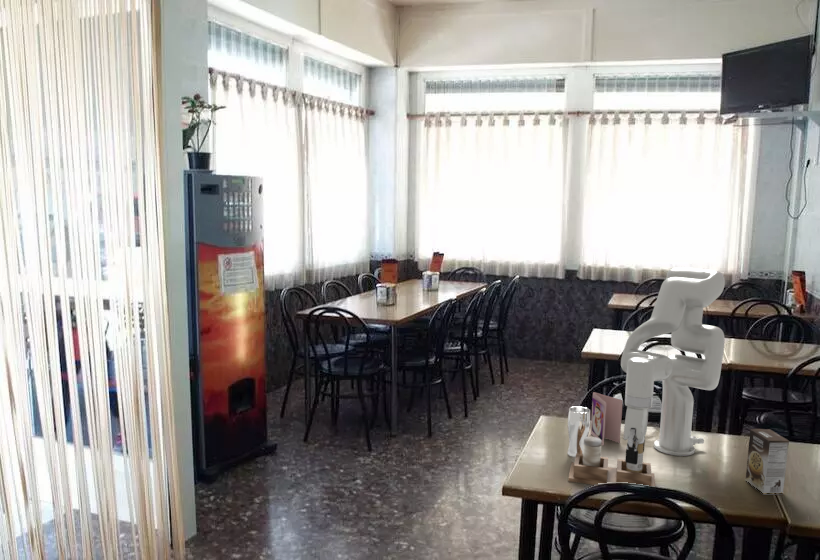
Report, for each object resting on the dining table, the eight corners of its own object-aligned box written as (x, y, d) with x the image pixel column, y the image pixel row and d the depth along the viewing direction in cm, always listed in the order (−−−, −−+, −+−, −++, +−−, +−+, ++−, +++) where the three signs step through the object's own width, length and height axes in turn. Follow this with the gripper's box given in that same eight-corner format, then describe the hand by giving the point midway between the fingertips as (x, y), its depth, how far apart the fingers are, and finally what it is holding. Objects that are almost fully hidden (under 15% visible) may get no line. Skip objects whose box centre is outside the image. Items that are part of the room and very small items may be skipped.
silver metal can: (586, 450, 218) (589, 406, 216) (590, 459, 211) (592, 413, 209) (564, 449, 219) (567, 405, 217) (567, 458, 212) (570, 412, 210)
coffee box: (744, 480, 198) (749, 428, 196) (764, 480, 199) (770, 428, 196) (762, 495, 189) (768, 440, 187) (784, 494, 190) (790, 439, 187)
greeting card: (588, 433, 234) (590, 391, 232) (608, 433, 234) (611, 391, 232) (600, 446, 222) (603, 402, 220) (622, 445, 223) (625, 402, 221)
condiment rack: (654, 476, 200) (656, 440, 198) (655, 494, 188) (658, 456, 187) (571, 465, 207) (573, 430, 205) (568, 481, 195) (570, 444, 194)
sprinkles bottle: (634, 474, 198) (637, 430, 197) (645, 480, 194) (648, 436, 192) (622, 476, 197) (624, 432, 195) (632, 482, 193) (634, 438, 191)
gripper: (631, 390, 202) (627, 444, 204) (618, 406, 187) (614, 464, 189) (657, 394, 198) (653, 450, 200) (646, 411, 183) (642, 470, 185)
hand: (634, 457), depth 195 cm, fingers open, 9 cm apart
